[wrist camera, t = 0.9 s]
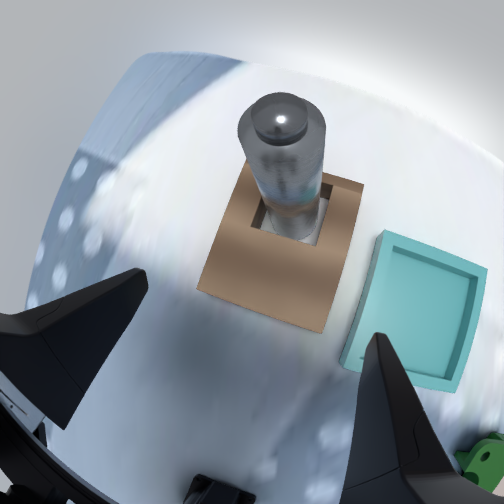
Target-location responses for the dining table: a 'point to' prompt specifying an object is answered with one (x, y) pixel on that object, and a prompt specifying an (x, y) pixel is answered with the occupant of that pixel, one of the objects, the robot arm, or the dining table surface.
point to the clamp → (484, 462)
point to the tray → (419, 310)
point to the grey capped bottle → (286, 159)
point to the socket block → (281, 255)
